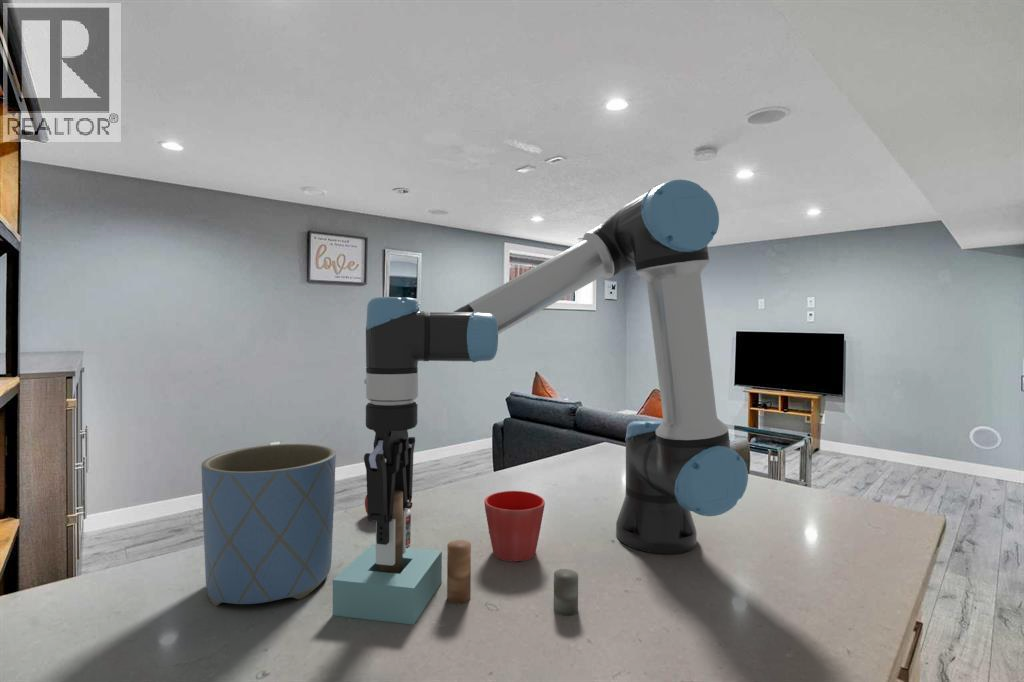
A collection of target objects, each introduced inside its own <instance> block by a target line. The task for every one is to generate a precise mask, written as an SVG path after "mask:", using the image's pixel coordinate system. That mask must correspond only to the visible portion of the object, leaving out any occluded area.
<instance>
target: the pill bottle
mask: <svg viewBox="0 0 1024 682" xmlns="http://www.w3.org/2000/svg"><path fill="white" fill-rule="evenodd" d="M408 502H409V500H408ZM405 510H406V548H409V546H410V545H411V541H412V540H411V534H412V533H411V531H412V530H411V519H412V518H411V515H412V514H411V509H410V508H409V509H408V508H405Z"/></svg>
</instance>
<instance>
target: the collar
mask: <svg viewBox="0 0 1024 682" xmlns="http://www.w3.org/2000/svg"><path fill="white" fill-rule="evenodd" d="M442 564H443V551H442V550H436V549H435V550H433V549H424V548H423V549H421V548H412V547H406V552H405V553H404V554H403V571H402V572H401V573H400V574H397V573H386V572H379V564H376V544H371V545H370V546H369V547H367V548H366V549H365V550H364V551H363V552H361V553H360V555H358V556H357V558H355V559H354V560H353V561H351V562H350V563H349V565H347V566H346V567H345V568H344V569H343V570H342V571H341V572H340V573H338V574H337V575H336V576H335V577H334V578H333V579H332V616H334V617H344V618H354V619H360V620H369V621H379V622H386V623H396V624H403V625H404V624H405V625H413V626H415V624H416V622H417V621H418V619H419V618H420V616H421V615H422V613H423V612H424V610H425V608H426V607H427V605H428V604H429V603H430V601H431V600H432V598H433V596H434V595H435V593H436V592H437V590H438V588H439V587H440V586H441V583H442V582H443V581H442V578H443V573H442V571H443V570H442V569H443V565H442Z"/></svg>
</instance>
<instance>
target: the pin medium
mask: <svg viewBox="0 0 1024 682" xmlns="http://www.w3.org/2000/svg"><path fill="white" fill-rule="evenodd" d="M446 551H447V553H446V554H447V561H446V562H447V564H446V566H447V567H446V568H447V571H446V574H447V575H446V577H447V578H446V580H447V581H446V585H447V586H446V588H447V589H446V600H447V602H449V603H450V604H454V605H461V604H466V603H467V602H469V601H470V600H471V591H472V590H471V588H472V587H471V586H472V585H471V584H472V583H471V582H472V581H471V580H472V578H471V577H472V572H471V571H472V563H471V562H472V544H471V542H470V541H468V540H465V539H455V540H452V541H449V542H448V543H447V550H446Z"/></svg>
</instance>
